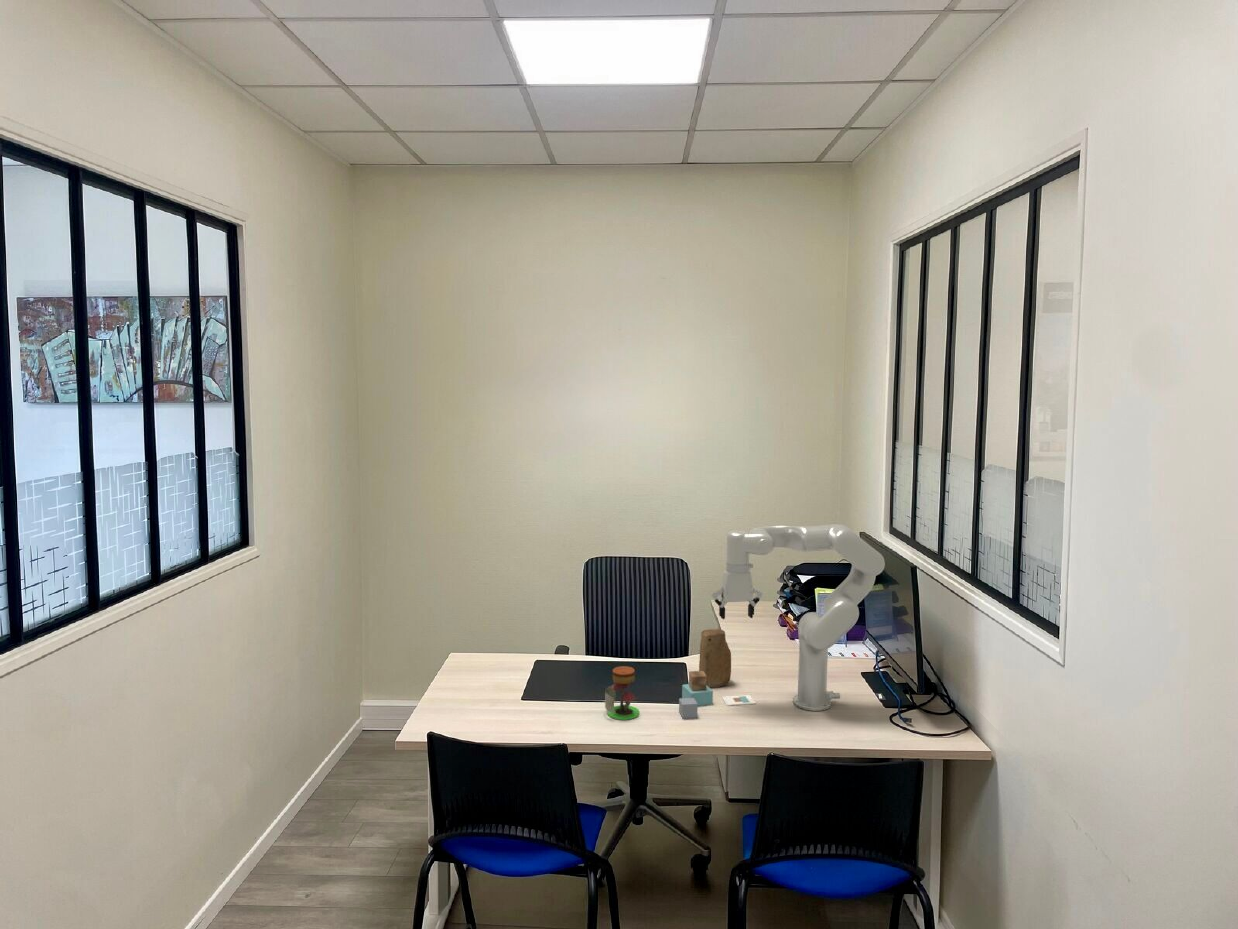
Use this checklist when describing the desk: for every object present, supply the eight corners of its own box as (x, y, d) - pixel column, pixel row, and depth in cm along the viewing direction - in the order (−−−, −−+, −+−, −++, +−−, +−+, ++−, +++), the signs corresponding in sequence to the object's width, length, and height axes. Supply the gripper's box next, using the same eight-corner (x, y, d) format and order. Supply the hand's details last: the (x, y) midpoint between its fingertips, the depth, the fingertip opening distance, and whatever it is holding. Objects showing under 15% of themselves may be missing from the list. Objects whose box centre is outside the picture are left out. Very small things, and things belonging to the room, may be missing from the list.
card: (749, 696, 290) (749, 694, 290) (755, 704, 283) (755, 702, 283) (721, 697, 288) (721, 696, 288) (727, 706, 281) (727, 704, 281)
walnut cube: (703, 684, 287) (703, 670, 287) (706, 690, 283) (706, 676, 282) (688, 685, 287) (689, 671, 286) (691, 691, 282) (692, 676, 281)
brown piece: (703, 689, 296) (704, 634, 294) (697, 681, 303) (698, 628, 301) (732, 687, 298) (733, 633, 295) (726, 679, 305) (727, 626, 303)
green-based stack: (636, 704, 282) (636, 661, 281) (644, 719, 270) (644, 675, 268) (602, 706, 280) (602, 663, 279) (608, 722, 268) (608, 677, 266)
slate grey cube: (693, 712, 276) (693, 697, 276) (697, 718, 272) (697, 703, 271) (678, 713, 276) (679, 698, 275) (682, 719, 271) (682, 704, 270)
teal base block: (703, 696, 290) (703, 682, 290) (712, 705, 283) (712, 691, 282) (681, 698, 288) (682, 684, 287) (690, 707, 280) (691, 693, 280)
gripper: (758, 564, 283) (757, 613, 285) (709, 566, 280) (708, 615, 282) (766, 569, 275) (764, 619, 277) (715, 571, 273) (714, 622, 275)
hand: (736, 617), depth 280 cm, fingers open, 9 cm apart
